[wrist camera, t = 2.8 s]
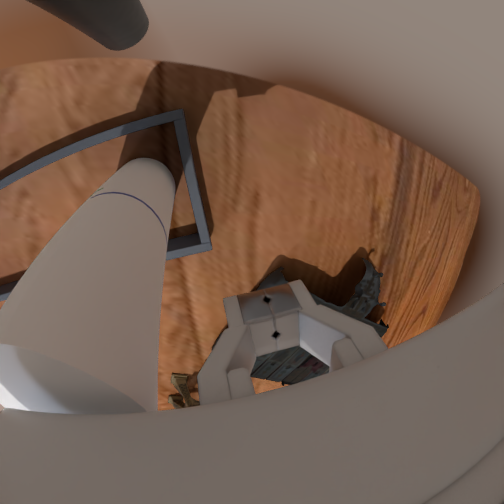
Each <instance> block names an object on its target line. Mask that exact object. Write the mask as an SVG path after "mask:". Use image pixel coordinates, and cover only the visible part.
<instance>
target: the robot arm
mask: <svg viewBox="0 0 504 504" xmlns="http://www.w3.org/2000/svg"><path fill="white" fill-rule="evenodd" d="M223 302H224V307H225V312H226V317H227V322H228V327H229V328H228V329H225V330H224V331H223V333H222V335H221V337H220V338H219V340H218V342H217V343H216V345H215V347H214V348H213V350H212V352H211V353H210V355H209V357H208V358H207V360H206V362H205V363H204V365H203V367H202V368H201V370H200V372H199V373H198V375H197V381H198V391H199V401H200V406H193V407H186V408H179V409H171V410H162V411H152V412H140V413H124V414H63V413H47V412H36V411H27V410H20V409H14V408H4V409H3V410H2V411H0V504H504V283H503V284H501V285H500V286H499V287H497V288H496V289H494V290H493V291H491V292H490V293H489V294H487V295H486V296H484V297H483V298H481V299H480V300H478V301H477V302H475V303H474V304H472V305H470V306H469V307H467V308H465V309H464V310H462V311H460V312H459V313H457V314H456V315H454V316H452V317H450V318H449V319H447V320H445V321H443V322H442V323H440V324H438V325H436V326H434V327H432V328H430V329H429V330H427V331H425V332H423V333H421V334H419V335H417V336H415V337H413V338H411V339H409V340H407V341H405V342H403V343H400V344H398V345H396V346H394V347H392V348H390V349H388V347H387V346H386V345H385V343H384V342H383V340H382V339H381V338H380V336H379V335H378V333H377V332H376V331H375V329H374V328H373V327H372V326H370V325H367V324H365V323H363V322H360V321H358V320H356V319H353V318H351V317H349V316H346V315H344V314H342V313H339V312H337V311H335V310H332V309H330V308H328V307H326V306H323V305H321V304H320V305H317V304H316V303H315V301H314V300H313V298H312V296H311V295H310V293H309V291H308V290H307V288H306V287H305V285H304V283H303V282H302V280H296V281H293V282H289V283H287V284H283V285H279V286H275V287H271V288H267V289H263V290H258V291H254V292H249V293H244V294H240V295H237V296H231V297H226V298H223ZM298 345H300V347H302V348H303V349H305V350H306V351H308V352H309V353H311V354H312V355H313V356H315V357H316V358H318V359H319V360H321V361H322V362H324V363H325V364H327V365H328V366H330V368H329V373H327V374H324V375H321V376H318V377H315V378H312V379H309V380H306V381H302V382H299V383H296V384H292V385H289V386H285V387H282V388H278V389H274V390H271V391H267V392H263V393H259V394H255V391H254V387H253V384H252V380H251V377H250V374H251V372H252V369H253V366H254V363H255V361H256V357H258V356H261V355H265V354H268V353H272V352H275V351H279V350H283V349H287V348H291V347H295V346H298Z"/></svg>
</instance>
